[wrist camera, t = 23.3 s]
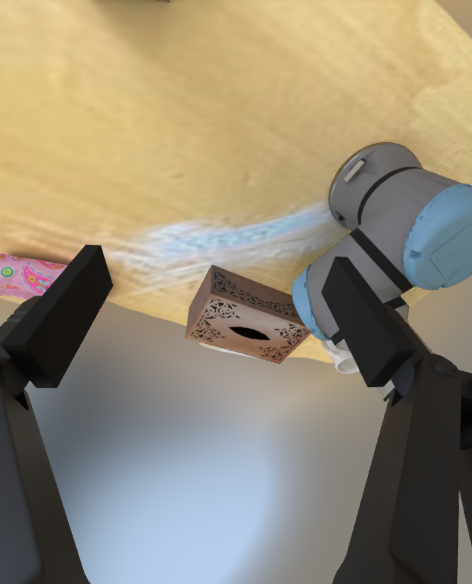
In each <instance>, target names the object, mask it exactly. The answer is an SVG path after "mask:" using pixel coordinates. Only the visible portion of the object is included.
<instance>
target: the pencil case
mask: <svg viewBox="0 0 472 584" xmlns="http://www.w3.org/2000/svg"><path fill="white" fill-rule="evenodd" d="M67 266H68V265H65V264H59V263H53V262H48V261H42V260H36V259H31V258H23V257H17V256H11V255H7V254H0V295H8V296H15V297H18V298H22V299H27V300H28V299H30V298H31V297H33V296H42V295H43V294H44V292H45V291H46V290H47V289H48V288H49V287H50V286H51V284H52V283H53V282H54V281H55V280H56V279H57V277H58V276H59V275H60V274H61V273H62V272H63V271H64V269H65V268H66V267H67ZM105 300H106V299H105ZM104 302H105V301H104ZM100 311H101V309H100V310H99V312H100Z"/></svg>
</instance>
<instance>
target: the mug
mask: <svg viewBox="0 0 472 584" xmlns="http://www.w3.org/2000/svg"><path fill="white" fill-rule="evenodd" d="M321 344H322V346H323V348H324V349H325V351H326V352H327V353H328V354H329V355H331V358H332V360H333V363H334V365H335V368H336V370H337V371H338V372H339V373H343V374H351V373H355V372H358V371H359V369H358V367H357V364H356V362H355V360H354V358H353V356H352V354H351V352H349V351H345V350H342V349H338V348H336V346H335V345H334V344H333V342H332V341H331V340H330V341H321Z"/></svg>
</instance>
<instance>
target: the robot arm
mask: <svg viewBox="0 0 472 584" xmlns="http://www.w3.org/2000/svg"><path fill="white" fill-rule="evenodd" d="M329 207H330V211H331V213H332V215H333V217H334V218H335V219H336V220H337V221H338V222H339V223H340V224H341V225H342V226H344V227H345V228H347V229H349V230H352V232H351V233H350V234H348V235H347V236H346V237H345V238H343V239H342V240H341V241H340V242H339V243H337V244H336V245H335V246H334V247H333V248H331V249H330V250H329V251H328V252H326V253H325V254H324V255H323V256H321V257H320V258H319V259H318V260H316V261H315V262H314V263H313V264H311V265H309V266H308V267H307V268H306V270H305V271H304V272H303V273H302V274H300V275H299V276H298V277H297V278H296V279H295V280H294V282H293V285H292V299H293V302H294V305H295V308H296V310H297V312H298V314H299V316H300V318H301V320H302V321H303V323H304V324H305V326H306V327H307V328H308V329H310V330H311V332H312V334H313V335H314V336H315V337H316V338H318V339H319V340H321V341H330V340H331V341H332V342H333V344H334V345H335V346H336V348H338V349H342V350H345V351H349V352H351V354H352V356H353V358H354V360H355V362H356V364H357V367H358V369H359V371H360V373H361V375H362V376H363V379H364V381H365V383H366V385H367V387H377V389H378V390H379V391H380V393H381V394H382V396H383V397H384V401H387V403H388V404H387V408H386V412H385V415H384V419H383V423H382V426H381V430H380V434H379V437H378V441H377V445H376V449H375V452H374V456H373V459H372V463H371V467H370V470H369V474H368V478H367V482H366V485H365V488H364V492H363V496H362V499H361V503H360V507H359V510H358V514H357V518H356V522H355V525H354V529H353V532H352V536H351V540H350V543H349V547H348V551H347V554H346V557H345V559H344V561H343V563H342V564H341V566H340V567H339V569H338V570H337V573H336V575H335V577H334V580H333V583H332V584H457V568H458V519H459V505H460V506H461V508H462V509H463V510H464V514H465V518H466V523H467V527H468V531H469V536H470V540H471V544H472V373H468V372H464V371H461V370H458V368H457V367H456V366H455V365H454V364H453V363H452V362H451V361H449V360H447V359H446V358H444V357H442V356H440V355H437V354H434V353H433V352H432V350H431V349H430V348H429V347H428V346H427V345H426V343H425V342H424V341H423V340H422V339H421V338H420V336H419V335H418V334H417V333H416V332H415V331H414V330H413V328H412V327H411V326H410V325H409V323H408V321H407V318H408V312H409V305H408V304H407V303H406V302H405V301H404V300H403V299H402V298H401V295H402V294H403V293H405V292H406V291H408V290H409V289H411V288H413V287H414V286H417V287H419V288H423V289H427V290H437V289H439V288H440V287H443V288H446V287H450V286H453V285H455V284H457V283H459V282H461V281H463V280H464V279H466V278H468V277H469V276H470V275H472V186H471V185H468V184H462V183H459V182H457V181H454V180H451V179H449V178H446V177H443V176H441V175H438V174H435V173H433V172H430V171H427V170H425V169H423V167H422V166H421V164H420V163H419V161H418V159H417V158H416V156H415V155H414V154H413V153H412V152H411V151H410V150H409V149H407V148H406V147H404V146H402V145H398V144H395V143H390V142H382V143H376V144H373V145H370V146H367V147H365V148H363V149H361V150H360V151H358V152H357V153H355V154H354V155H353V156H351V157H350V158H349V159H348V160H347V161H346V162H345V163H344V164H343V165H342V167H341V168H340V169H339V171H338V172H337V174H336V176H335V178H334V180H333V182H332V185H331V188H330V192H329ZM112 287H113V284H112V280H111V277H110V274H109V271H108V267H107V264H106V261H105V257H104V254H103V251H102V247H101V245H85V246H84V248H83V249H82V250H81V251H80V252H79V253H78V254H77V256H76V257H75V258H74V259H73V260H72V261H71V263H70V264H69V265H68V266H67V267H66V268H65V269H64V271H63V272H62V273H61V274H60V275H59V276H58V277H57V279H56V280H55V281H54V282H53V283H52V284H51V286H50V287H49V288H48V289H47V290H46V291H45V292H44V294H43V295H42V296H33V297H31V298H30V299H28V300H27V301H25V302H23V303H22V304H21V305H20V306H19V307H18V308H17V309H16V310H15V312H14V314H12V315H11V316H10V317H9V318H8V319H7V321H6V322H4V323H3V324H2V326H1V327H0V584H90V582H89V581H88V579H87V577H86V575H85V573H84V570H83V567H82V564H81V561H80V558H79V554H78V551H77V548H76V545H75V542H74V539H73V535H72V532H71V529H70V526H69V523H68V520H67V516H66V513H65V510H64V507H63V504H62V500H61V497H60V494H59V491H58V488H57V485H56V482H55V478H54V475H53V472H52V469H51V466H50V462H49V459H48V456H47V453H46V450H45V447H44V444H43V440H42V437H41V434H40V431H39V428H38V424H37V421H36V418H35V415H34V412H33V408H32V406H31V402H30V399H29V396H28V393H27V392H26V390H25V389H24V388H25V387H26V385H27V384H28V382H29V381H31V382H32V383H33V384H34V385H35V387H36V388H57V387H58V385H59V383H60V381H61V379H62V378H63V376H64V374H65V372H66V371H67V369H68V367H69V365H70V363H71V361H72V360H73V358H74V356H75V354H76V352H77V350H78V349H79V347H80V345H81V343H82V341H83V340H84V338H85V336H86V334H87V332H88V330H89V329H90V327H91V325H92V323H93V321H94V320H95V318H96V316H97V314H98V312H99V310H100V309H101V307H102V305H103V303H104V301H105V299H106V298H107V296H108V294H109V292H110V290H111V289H112Z"/></svg>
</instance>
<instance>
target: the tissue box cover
mask: <svg viewBox="0 0 472 584" xmlns="http://www.w3.org/2000/svg"><path fill="white" fill-rule="evenodd" d="M311 333H312V332H311V330H310V329H308V328H307V327H306V326H305V324H304V323H303V321H302V320H301V318H300V316H299V314H298V312H297V310H296V308H295V305H294V302H293V299H292V296H291V295H288V294H285V293H283V292H280V291H278V290H275V289H273V288H270V287H267V286H265V285H262V284H260V283H257V282H255V281H252V280H249V279H247V278H244V277H242V276H239V275H237V274H234V273H231V272H229V271H226V270H224V269H221V268H219V267H216V266H213V265H211V267H210V269H209V271H208V273H207V275H206V277H205V279H204V281H203V283H202V285H201V286H200V288H199V290H198V292H197V294H196V296H195V298H194V300H193V302H192V304H191V306H190V307H189V314H188V321H187V329H186V335H185V338H188V339H191V340H195V341H199V342H202V343H206V344H210V345H213V346H217V347H221V348H224V349H228V350H231V351H235V352H239V353H242V354H246V355H250V356H253V357H257V358H261V359H264V360H268V361H272V362H276V363H279V364H280V363H281V362H282V361H283V360H284V359H285V358H286V357H287V356H288V355H289V354H290V353H291V352H292V351H294V350H295V349H296V348H297V347H298V346H299V345H300V344H301V343H302V342H303V341H304V340H305V339H306V338H307V337H308V336H309V335H310V334H311Z"/></svg>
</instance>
